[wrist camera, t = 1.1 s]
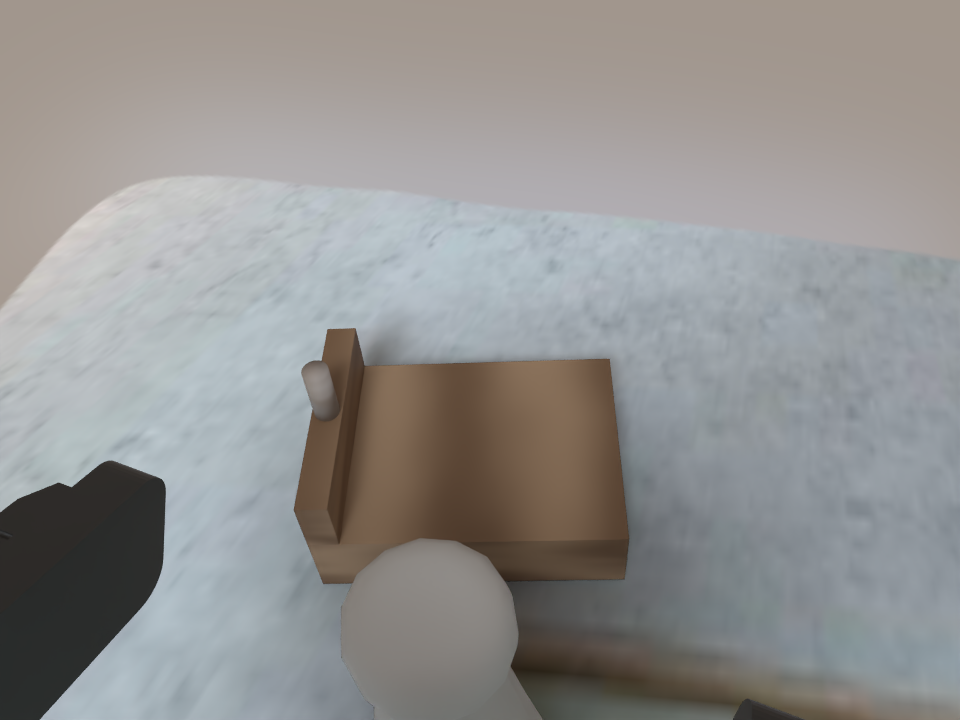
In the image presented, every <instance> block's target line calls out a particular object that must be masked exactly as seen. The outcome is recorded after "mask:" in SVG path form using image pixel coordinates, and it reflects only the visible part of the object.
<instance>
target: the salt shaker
mask: <svg viewBox="0 0 960 720" xmlns="http://www.w3.org/2000/svg"><path fill="white" fill-rule="evenodd" d="M518 636H519V632H518V626H517V620H516V614H515V608H514V601H513V596H512V594H511V592H510V590H509V588H508V586H507V584H506V583H505V581H504V580H503V578H502V577H501V576H500V574H499V573H498V571H497V570H496V569H495V567H494V566H493V564H492V563H491V561H490V560H489V559H488V557H487V556H485V555H483V554H481V553H479V552H477V551H475V550H473V549H471V548H469V547H467V546H465V545H463V544H461V543H459V542H457V541H451V540H437V539H424V538H419V539H416V540H413V541H411V542H408V543H405V544H402V545H399V546H396V547H393V548H390V549H388V550H385V551H384V552H383V553H381V554H380V555H379V556H378V557H377V558H376V559H374V560H373V561H372V562H371V563H370V564H368V565H367V566H366V567H365V568H364V569H362V570H361V571H360V572H359V573H358V574H357V575H356V577H355V579H354V581H353V583H352V586H351V588H350V590H349V592H348V594H347V596H346V598H345V601H344V603H343V605H342V607H341V658H342V659H343V661H344V663H345V665H346V667H347V668H348V670H349V672H350V674H351V676H352V677H353V679H354V681H355V683H356V684H357V686H358V688H359V690H360V692H361V693H362V695H363V697H364V699H365V700H366V701H367V702H369V703H370V704H372V705H373V706H374V720H543V719H542V717H541V716H540V714H539V712H538V711H537V709H536V708H535V706H534V705H533V703H532V702H531V700H530V699H529V697H528V695H527V694H526V692H525V691H524V689H523V687H522V686H521V684H520V682H519V680H518V679H517V677H516V675H515V673H514V672H513V670H512V668H511V663H512V660H513V657H514V654H515V651H516V649H517V646H518Z"/></svg>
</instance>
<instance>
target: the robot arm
mask: <svg viewBox="0 0 960 720" xmlns="http://www.w3.org/2000/svg"><path fill="white" fill-rule="evenodd" d="M165 498H166V488H165V484H164V482H163V480H162V479H160V478H158V477H155V476H153V475H150V474H147V473H144V472H142V471H139V470H136V469H134V468H131V467H128V466H126V465H123V464H120V463H117V462H115V461H106V462H104V463H102V464H100V465H99V466H97V467H96V468H95V469H94V470H92V471H91V472H90V473H89V474H88V475H86V476H85V477H84V478H83V479H81V480H80V481H79V482H78V483H77V484H75V485H74V486H73V487H69V486H67V485H64V484H61V483H57V484H54V485H52V486H49V487H47V488H44V489H42V490H39V491H37V492H34V493H32V494H29V495H27V496H24V497H22V498H19V499H17V500H16V501H15V502H13V503H12V504H11V505H9V506H8V507H7V508H5V509H4V510H3V511H2V512H0V720H40V719H41V718H42V716H43V715H44V714H45V713H46V712H47V711H48V710H49V709H50V708H51V707H52V705H53V704H54V703H55V702H56V701H57V700H58V699H59V698H60V697H61V696H62V694H63V693H64V692H65V691H66V690H67V689H68V688H69V687H70V686H71V685H72V683H73V682H74V681H75V680H76V679H77V678H78V677H79V676H80V675H81V673H82V672H83V671H84V670H85V669H86V668H87V667H88V666H89V665H90V664H91V662H92V661H93V660H94V659H95V658H96V657H97V656H98V655H99V654H100V653H101V651H102V650H103V649H104V648H105V647H106V646H107V645H108V644H109V643H110V642H111V640H112V639H113V638H114V637H115V636H116V635H117V634H118V633H119V632H120V631H121V629H122V628H123V627H124V626H125V625H126V624H127V623H128V622H129V621H130V620H131V618H132V617H133V616H134V615H135V614H136V613H137V612H138V611H139V610H140V609H141V607H142V606H143V605H144V604H145V603H146V601H147V600H148V598H149V597H150V595H151V593H152V592H153V590H154V588H155V586H156V584H157V581H158V579H159V576H160V573H161V570H162V565H163V552H164V525H165ZM733 720H804V719H801V718H799V717H796V716H793V715H791V714H788V713H785V712H783V711H780V710H777V709H774V708H772V707H769V706H766V705H764V704H761V703H758V702H756V701H753V700H750V699H745V700H744V701H743V702H742V704H741V705H740V707H739V709H738V711H737V713H736V714H735V716H734V718H733Z"/></svg>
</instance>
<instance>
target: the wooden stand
mask: <svg viewBox="0 0 960 720" xmlns="http://www.w3.org/2000/svg"><path fill="white" fill-rule="evenodd" d="M301 374H302V377H303V380H304V383H305V386H306V389H307V393H308V396H309V399H310V402H311V405H312V408H313V410H312V415H311V421H310V426H309V431H308V437H307V442H306V447H305V453H304V458H303V463H302V469H301V474H300V479H299V485H298V490H297V495H296V501H295V506H294V512H295V515H296V517H297V520H298V522H299V525H300V527H301V530H302V532H303V534H304V537H305V539H306V542H307V544H308V547H309V549H310V552H311V554H312V557H313V559H314V562H315V564H316V567H317V569H318V572H319V574H320V577H321V579H322V582H323V584H341V583H353V581H354V579H355V577H356V575H357V574H358V573H359V572H360V571H361V570H362V569H364V568H365V567H366V566H367V565H368V564H370V563H371V562H372V561H373V560H374V559H376V558H377V557H378V556H379V555H380V554H381V553H383V552H384V551H385V550H388V549H390V548H393V547H396V546H399V545H402V544H405V543H408V542H411V541H413V540H416V539H419V538H424V539H437V540H451V541H457V542H459V543H461V544H463V545H465V546H467V547H469V548H471V549H473V550H475V551H477V552H479V553H481V554H483V555H485V556H487V557H488V559H489V560H490V561H491V563H492V564H493V566H494V567H495V569H496V570H497V571H498V573H499V574H500V576H501V577H502V578H503V580H504V581H541V580H608V579H625V571H626V562H627V553H628V545H629V534H628V525H627V515H626V506H625V497H624V488H623V478H622V469H621V460H620V451H619V442H618V432H617V423H616V414H615V405H614V396H613V386H612V377H611V368H610V359H586V360H552V361H519V362H485V363H452V364H419V365H385V366H365V365H364V361H363V357H362V353H361V349H360V345H359V341H358V336H357V332H356V328H351V329H328V330H327V335H326V341H325V346H324V351H323V357H322V361H312V362H309V363H307V364H306V365H305V366H304V367H303V368H302V371H301Z"/></svg>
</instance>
